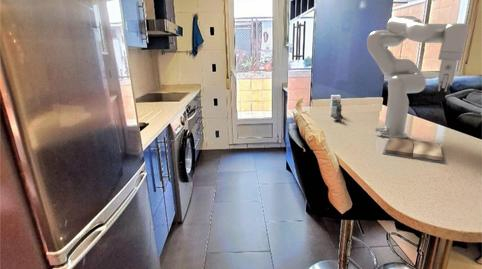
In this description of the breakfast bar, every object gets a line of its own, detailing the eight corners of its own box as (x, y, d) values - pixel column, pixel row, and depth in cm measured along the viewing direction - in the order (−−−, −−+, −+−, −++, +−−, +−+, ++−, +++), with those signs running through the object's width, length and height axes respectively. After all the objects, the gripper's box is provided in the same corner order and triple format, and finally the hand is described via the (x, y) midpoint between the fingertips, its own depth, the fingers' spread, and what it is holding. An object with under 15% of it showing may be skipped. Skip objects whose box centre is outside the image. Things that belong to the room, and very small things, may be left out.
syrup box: (330, 116, 192) (332, 95, 188) (329, 114, 198) (330, 94, 194) (339, 116, 191) (341, 95, 187) (337, 115, 197) (339, 94, 193)
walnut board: (385, 152, 122) (385, 149, 121) (389, 140, 138) (390, 137, 138) (411, 156, 117) (412, 153, 116) (413, 143, 133) (413, 140, 133)
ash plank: (412, 156, 117) (413, 153, 116) (413, 143, 133) (414, 140, 132) (441, 160, 111) (442, 156, 111) (439, 146, 128) (440, 143, 127)
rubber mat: (382, 153, 122) (382, 153, 121) (387, 140, 139) (387, 139, 139) (444, 163, 110) (444, 162, 110) (441, 147, 128) (441, 146, 128)
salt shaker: (335, 119, 183) (336, 101, 180) (344, 121, 180) (345, 102, 176) (331, 121, 179) (333, 103, 175) (340, 122, 175) (342, 104, 172)
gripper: (462, 57, 106) (451, 105, 112) (460, 55, 117) (449, 98, 124) (439, 57, 110) (428, 102, 116) (438, 54, 121) (429, 96, 127)
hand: (439, 100), depth 120 cm, fingers closed
